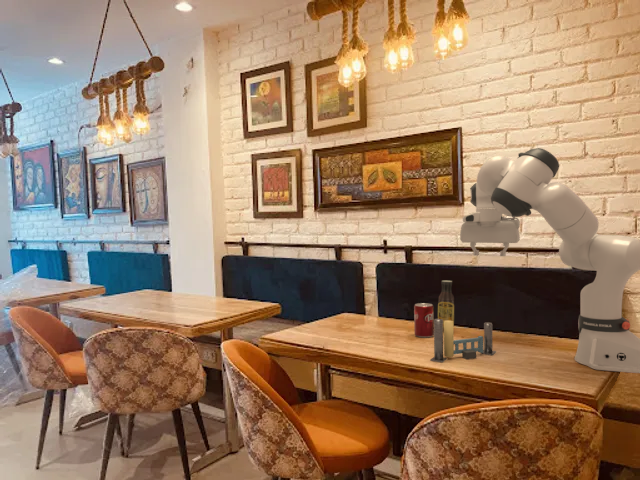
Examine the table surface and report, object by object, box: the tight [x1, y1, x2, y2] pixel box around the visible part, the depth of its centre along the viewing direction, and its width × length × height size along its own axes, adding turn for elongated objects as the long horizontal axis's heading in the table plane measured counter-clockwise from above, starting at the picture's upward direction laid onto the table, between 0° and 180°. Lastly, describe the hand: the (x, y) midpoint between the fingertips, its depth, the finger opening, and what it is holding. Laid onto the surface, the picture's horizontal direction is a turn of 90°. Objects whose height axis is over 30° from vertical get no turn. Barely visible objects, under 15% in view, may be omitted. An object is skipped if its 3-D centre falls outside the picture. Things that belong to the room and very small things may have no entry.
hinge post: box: [479, 321, 497, 356], centre depth 170 cm, size 4×4×10 cm
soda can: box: [413, 302, 435, 339], centre depth 196 cm, size 7×7×12 cm
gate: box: [443, 320, 484, 358], centre depth 167 cm, size 14×3×11 cm, turn 108°
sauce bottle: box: [437, 280, 455, 333], centre depth 203 cm, size 7×6×20 cm
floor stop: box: [461, 350, 477, 361], centre depth 165 cm, size 4×2×2 cm, turn 110°
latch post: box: [430, 318, 448, 363], centre depth 164 cm, size 4×4×13 cm
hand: (489, 255), depth 183 cm, fingers open, 8 cm apart
